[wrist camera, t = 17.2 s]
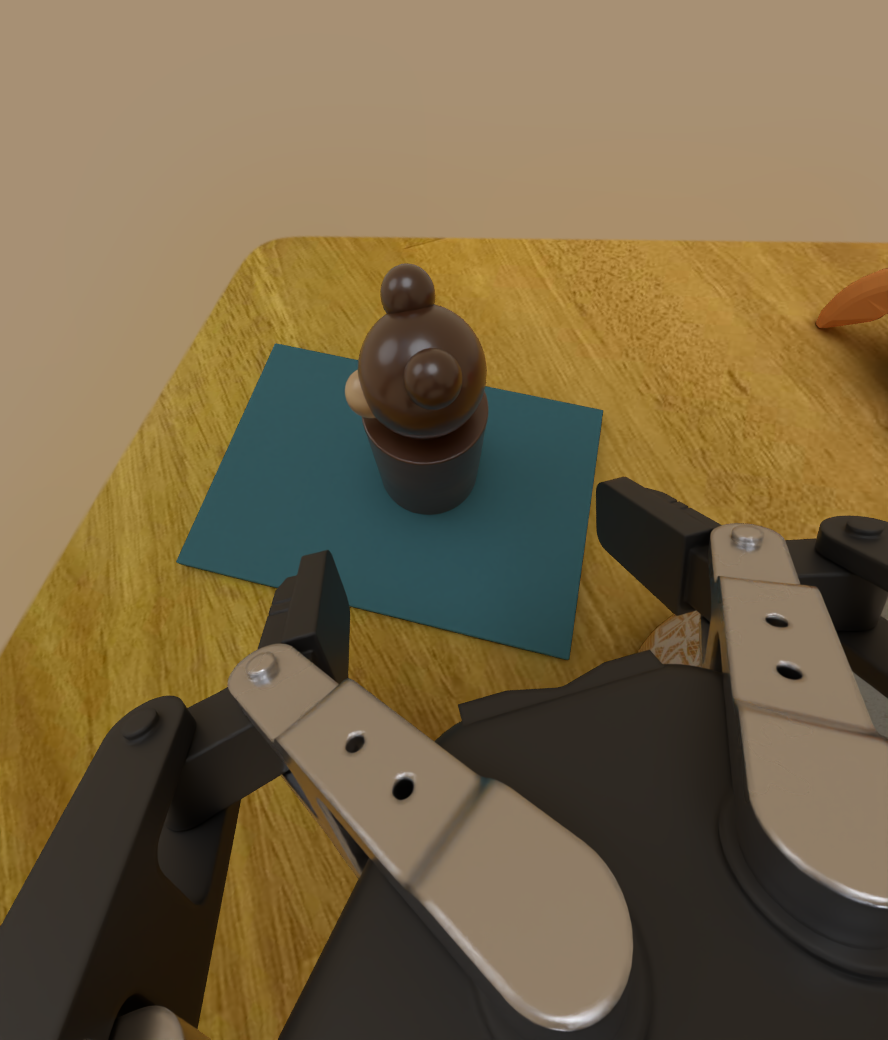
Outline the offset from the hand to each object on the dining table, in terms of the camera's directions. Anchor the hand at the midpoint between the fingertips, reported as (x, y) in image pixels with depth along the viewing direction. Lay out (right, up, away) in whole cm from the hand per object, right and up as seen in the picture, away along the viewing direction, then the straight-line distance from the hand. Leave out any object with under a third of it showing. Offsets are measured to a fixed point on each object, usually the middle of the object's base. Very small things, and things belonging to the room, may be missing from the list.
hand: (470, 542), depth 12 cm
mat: (-3, +3, +11) cm, 11 cm away
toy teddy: (-2, +3, +10) cm, 11 cm away
